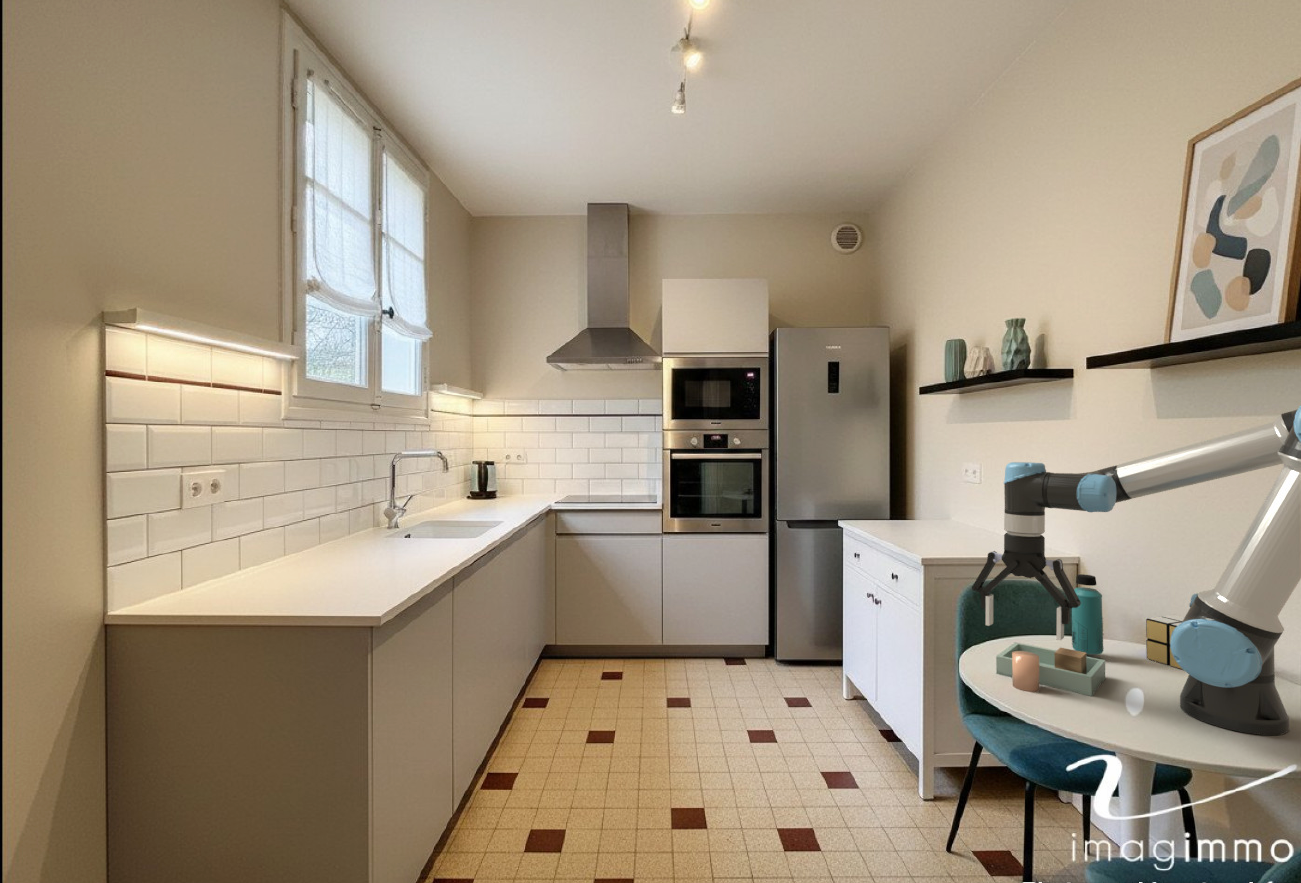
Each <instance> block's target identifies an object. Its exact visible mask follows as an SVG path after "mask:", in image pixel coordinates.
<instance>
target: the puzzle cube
mask: <svg viewBox="0 0 1301 883" xmlns="http://www.w3.org/2000/svg"><path fill="white" fill-rule="evenodd" d="M1184 618H1185V616H1181V615H1177V614H1168V615H1163V616H1162V615H1161V616H1156V617H1148V618H1146V620H1145V627H1146V629H1145V632H1146V634H1145V635H1146V641H1145V642H1146V646H1145V647H1146V659H1147V660H1148V659H1149V661H1152V660H1153V661H1152V662H1155V661H1156V663H1158V664H1162V665H1165V666H1170V667H1172V668H1176V669H1178V670H1182V671H1184V670H1183V669H1182V668H1181V667H1180V666H1179V664H1178V663H1177V662H1176V660H1175V659H1174V657H1173V654H1172V652H1171V647H1170V641H1171V635H1172V632H1173V630H1174V629H1175V628H1176V627H1177V626H1178V625H1179V624H1181V623H1182V621H1183V620H1184Z"/></svg>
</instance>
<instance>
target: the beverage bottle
mask: <svg viewBox="0 0 1301 883" xmlns="http://www.w3.org/2000/svg"><path fill="white" fill-rule="evenodd" d="M1075 584H1078V585H1082V586H1089V587H1082V586H1081V587H1075V588H1073V589H1074V591H1075V593H1076V594H1077V596H1078V598H1079V600H1080V602H1081V605H1080V606H1078V607H1077V608H1070V610H1071V634H1070V635H1071V646H1072V648H1073V649H1072V650H1076V651H1081V652H1086V655H1102V654H1103V652H1104V633H1103V632H1104V621H1103V620H1104V618H1103V595H1102V593H1101V592H1100V591H1098V590H1097V589H1095V588H1091V587H1090V586H1094V587H1095V586H1097V579H1096V576H1095V575H1092V574H1083V573H1081V574H1077V575H1076V580H1075Z"/></svg>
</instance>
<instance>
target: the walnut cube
mask: <svg viewBox="0 0 1301 883" xmlns="http://www.w3.org/2000/svg"><path fill="white" fill-rule="evenodd" d="M1087 657H1088V656H1087V654H1086V652H1081V651H1076V650H1074V649H1069V648H1065V647H1059V648H1057V651H1056V652H1055V668H1059V669H1063V670H1068V671H1073V672H1077V673H1082V674H1086V675H1087Z"/></svg>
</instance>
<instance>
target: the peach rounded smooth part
mask: <svg viewBox="0 0 1301 883" xmlns="http://www.w3.org/2000/svg"><path fill="white" fill-rule="evenodd" d="M1011 678H1012V687H1013V688H1015V689H1016V690H1019V691H1022V692H1028V693H1029V692H1031V693H1036V692H1039V691H1040V685H1041V684H1040V682H1039V656H1038V655H1037V654H1034V653H1031V652H1026V651H1014V652H1012V677H1011Z"/></svg>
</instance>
